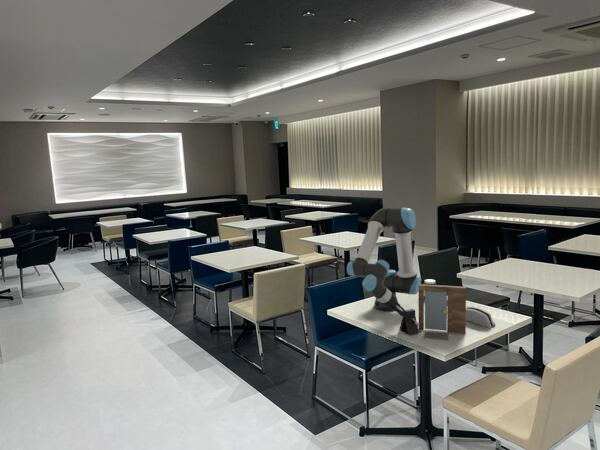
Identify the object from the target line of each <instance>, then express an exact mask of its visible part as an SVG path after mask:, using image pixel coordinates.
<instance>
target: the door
mask: <svg viewBox="0 0 600 450" xmlns="http://www.w3.org/2000/svg"><path fill="white" fill-rule="evenodd" d="M424 330H433V331H446V332H447V292H443V291H426V290H425V298H424Z"/></svg>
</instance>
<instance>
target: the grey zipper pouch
mask: <svg viewBox="0 0 600 450" xmlns="http://www.w3.org/2000/svg"><path fill="white" fill-rule="evenodd" d="M466 321H468V322H472V323H474V324H478V325H480V326H484V327H487V328H489V329H491V328H492V326H495V327H496V322H495V321H494V320H493V317H492V315H491V313H490V312H488V311H487V310H485V309H483V308H480V307H476V306H466Z"/></svg>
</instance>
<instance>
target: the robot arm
mask: <svg viewBox="0 0 600 450" xmlns="http://www.w3.org/2000/svg"><path fill="white" fill-rule="evenodd" d="M416 219H417V217H416V214H415V212H414V210H413V209H412V208H409V207H383V208H381V209H378V210H377V211H376V212H375V213H374V214H373V215H372V216H371V217H370V219H369V221H368V223H367V230H366V233H365V235H364V237H363V240H362V242H361V245H360V247H359V250H358V252H357V253H356V257H355V259H354V260H353V261H349V262H348V263H347V265H346V272H347V275H349V276H350V277H351V276H353V277H360V278H363V280H362V282H361V283H362V286H363V288H365V290H366V291H367V292H369V293H370V294H371V295H372V297H374V298H375V300H374V302H373V307H374V309H375V310H378V311H384V312H391V311H394V312H396V313H397V314H399V316H400V317H401V318H402V317H403V316H404V317H405V318H406V319H407V320H408V321H407V322H412V323H413V324H417V325H418V327H419V325H420V324H419V321H417V320H416V321H415V320H414V319H413V317H412V316H411V315H410V314H409V313H408V312H406V311H405V310H406V309H405V308H404V307H403V306H402V305H401V304H400V303H399V301H398V297H397V293H399V294H406V295H418V294H419V284H422V278H421V277H422V276H420V275H417V274H418V272H417V270H416V269H415V268H414V259H413V257H414V256H413V247H412V236H411V234H412V232H413V231H414V228H415V227H416V225H417V224H416V221H417V220H416ZM386 228H390V229H392V233H393V234H394V235H395V244H396V253H397V254H396V255H397V262H398V271H396V270H395V269H390V264H389V262H387V261H386V260H384V259H377V261H376V262H375V263H370V260H371V257H372V255H373V252H374V250H375V248H376V245H377V242H378V240H379V238H380V235H381V233H382V232H383V231H384V229H386Z"/></svg>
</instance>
